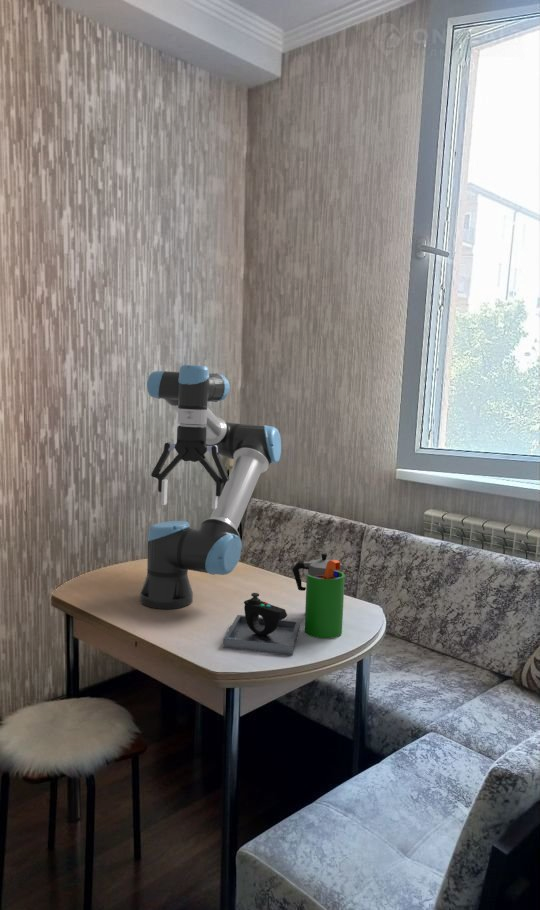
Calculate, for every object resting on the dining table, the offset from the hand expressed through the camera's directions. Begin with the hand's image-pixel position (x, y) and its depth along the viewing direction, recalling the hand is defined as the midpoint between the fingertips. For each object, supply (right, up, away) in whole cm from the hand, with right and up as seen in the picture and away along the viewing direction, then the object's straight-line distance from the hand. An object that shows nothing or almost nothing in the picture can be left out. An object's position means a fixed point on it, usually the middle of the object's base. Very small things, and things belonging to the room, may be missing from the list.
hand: (189, 506), depth 180 cm
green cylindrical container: (+36, -34, +2) cm, 49 cm away
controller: (+19, -33, -4) cm, 38 cm away
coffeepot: (+34, -32, +15) cm, 49 cm away
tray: (+19, -33, -4) cm, 39 cm away
